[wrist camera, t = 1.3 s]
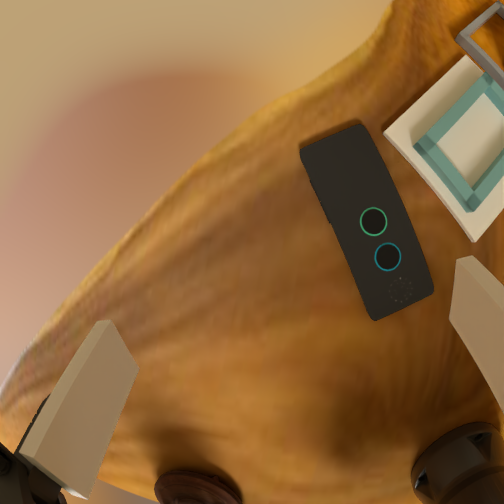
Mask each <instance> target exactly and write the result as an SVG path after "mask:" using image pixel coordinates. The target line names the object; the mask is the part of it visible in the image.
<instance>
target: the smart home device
mask: <svg viewBox="0 0 504 504" xmlns="http://www.w3.org/2000/svg"><path fill="white" fill-rule="evenodd" d="M300 158H301V161H302V163H303V165H304V167H305V169H306V171H307V173H308V175H309V178H310V183H311V185H312V187H313V189H314V191H315V193H316V195H317V197H318V199H319V202H320V201H321V202H320V204H321V206H322V208H323V210H324V212H325V215H326V217H327V219H328V221H329V224H330V223H331V225H332V227H333V229H334V232H335V234H336V236H337V239H338V241H339V243H340V246H341V248H342V250H343V253H344V255H345V257H346V260H347V262H348V264H349V267H350V269H351V272H352V274H353V277H354V279H355V282H356V284H357V287H358V289H359V292H360V294H361V297H362V299H363V302H364V305H365V307H366V310H367V312H368V314H369V316H370V317H371V319H372V320H374V321H377V320H379V319H381V318H383V317H386V316H388V315H390V314H392V313H394V312H396V311H399V310H401V309H403V308H405V307H407V306H409V305H411V304H413V303H415V302H417V301H419V300H421V299H423V298H425V297H427V296H429V295H431V294H433V292H434V286H433V282H432V279H431V276H430V273H429V270H428V267H427V264H426V261H425V258H424V255H423V253H422V250H421V247H420V245H419V242H418V239H417V237H416V234H415V232H414V229H413V227H412V224H411V222H410V219H409V217H408V214H407V212H406V210H405V207H404V205H403V203H402V200H401V198H400V196H399V194H398V191H397V189H396V187H395V185H394V183H393V180H392V178H391V176H390V174H389V172H388V170H387V168H386V166H385V164H384V162H383V160H382V158H381V156H380V154H379V152H378V150H377V148H376V146H375V144H374V142H373V140H372V138H371V137H370V135H369V133H368V131H367V130H366V128H365V127H364V126H363V125H361V124H358V125H355V126H352V127H350V128H348V129H345V130H343V131H340V132H338V133H336V134H333V135H331V136H329V137H326V138H324V139H322V140H319V141H317V142H315V143H313V144H310V145H308V146H306V147H304V148H302V149H300Z"/></svg>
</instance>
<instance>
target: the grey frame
mask: <svg viewBox="0 0 504 504" xmlns="http://www.w3.org/2000/svg"><path fill="white" fill-rule="evenodd" d="M496 13H497V14H498V15H500V16H501V17H502V18H503V19H504V5H503V4H502V3H501V2H500V1H499V0H498V1H497V2H495V3H494V4H493V5H492V6H491V7H489V8H488V9H487V10H486V11H485V12H483V13H482V14H481V15H480V16H479V17H477V18H476V19H475V20H474V21H473V22H471V23H470V24H469V25H468V26H467V27H466V28H464V29H463V30H462V31H461V32H460V33H459V34H458V35H457V37H456V38H455V41H456V42H457V43H458V44H459V45H460V46H461V47H462V48H463V49H464V50H465V51H466V52H467V53H468V54H469V55H470V56H471V57H472V58H473V59H474V60H475V61H476V62H477V63H478V64H479V65H480V66H481V67H482V68H483V69H484V70H485V71H487V73H488V74H489V75H490V76H491V77H492V78H493V79H494V80H495V81H496V83H497V84H498V85H499V86H500V87H501V88H502V89H503V91H504V72H503V71H502V70H501V68H500V67H499V66H498V65H497V64H496V63H495V62H494V61H493V60H492V59H491V58H490V57H489V56H488V55H487V54H486V53H485V52H484V51H483V50H482V49H481V48H480V47H479V46H478V45H477V44H476V43H475V42H474V41H473V40H472V39H471V38H470V36H471V35H472V34H473V33H474V32H475V31H477V30H478V29H479V28H480V27H481V26H482V25H483V24H484V23H486V22H487V21H488V20H489V19H490V18H491V17H492V16H493V15H495V14H496Z"/></svg>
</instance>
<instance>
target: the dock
mask: <svg viewBox="0 0 504 504" xmlns="http://www.w3.org/2000/svg"><path fill="white" fill-rule="evenodd" d="M383 135H384V136H385V137H386V138H387V139H388V140H389V141H390V143H391V144H392V145H393V146H394V147H395V148H396V149H397V150H398V151H399V152H400V153H401V154H402V155H403V156H404V158H405V159H406V160H407V161H408V162H409V163H410V164H411V165H412V166H413V168H414V169H415V170H416V171H417V172H418V173H419V174H420V176H421V177H422V178H423V179H424V180H425V181H426V183H427V184H428V185H429V186H430V187H431V189H432V190H433V191H434V192H435V194H436V195H437V196H438V197H439V199H440V200H441V201H442V202H443V204H444V205H445V206H446V208H447V209H448V210H449V211H450V213H451V214H452V215H453V217H454V218H455V219H456V221H457V222H458V223H459V225H460V226H461V228H462V229H463V230H464V232H465V233H466V235H467V236H468V237H469V239H470V240H471V242H476V241H477V240H478V239H479V238H480V236H481V235H482V234H483V233H484V232H485V230H486V229H487V228H488V227H489V226H490V224H491V223H492V222H493V221H494V220H495V218H496V217H497V216H498V214H499V213H500V212H501V211H502V209H503V208H504V91H503V89H502V88H501V87H500V86H499V85H498V84H497V83H496V81H495V80H494V79H493V78H492V77H491V76H490V75H489V74H488V73H487V71H485V72H484V73H483V72H482V71H481V69H480V68H479V67H478V66H477V65H476V64H475V63H474V62H473V61H472V60H471V59H470V58H469V57H468V56H467V55H465V56H464V57H463V58H462V59H461V60H460V61H459V62H457V63H456V64H455V65H454V66H453V67H452V68H451V69H450V70H449V71H448V72H447V73H446V74H445V75H444V76H443V77H442V78H441V79H439V80H438V81H437V82H436V83H435V84H434V85H433V86H432V87H431V88H430V89H429V90H428V91H427V92H426V93H425V94H424V95H423V96H421V97H420V98H419V99H418V100H417V101H416V102H415V103H414V104H413V105H412V106H411V107H410V108H409V109H408V110H407V111H406V112H405V113H403V114H402V115H401V116H400V117H399V118H398V119H397V120H396V121H395V122H394V123H393V124H392V125H391V126H390V127H389V128H388V129H386V130H385V131H384V133H383Z"/></svg>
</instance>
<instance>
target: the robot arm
mask: <svg viewBox="0 0 504 504" xmlns="http://www.w3.org/2000/svg"><path fill="white" fill-rule="evenodd" d="M449 320H450V322H451V323H452V325H453V327H454V328H455V330H456V331H457V333H458V334H459V336H460V337H461V339H462V341H463V342H464V344H465V345H466V347H467V349H468V350H469V352H470V354H471V355H472V357H473V359H474V360H475V362H476V364H477V366H478V367H479V369H480V371H481V372H482V374H483V376H484V378H485V380H486V381H487V383H488V385H489V387H490V389H491V390H492V392H493V394H494V396H495V398H496V400H497V402H498V404H499V406H500V408H501V410H502V412H503V414H504V286H503V285H502V284H501V283H500V282H499V281H498V280H497V279H496V278H495V277H494V276H493V275H492V274H491V273H490V272H489V271H488V270H487V269H486V268H485V267H484V266H483V265H482V264H481V263H480V262H479V261H478V260H477V259H476V258H475V257H474V256H473V255H472V256H468V257H464V258H460V259H456V268H455V278H454V287H453V295H452V302H451V309H450V315H449ZM139 369H140V368H139V367H138V365H137V364H136V362H135V360H134V359H133V357H132V355H131V354H130V352H129V350H128V348H127V347H126V345H125V343H124V342H123V340H122V338H121V336H120V334H119V333H118V331H117V329H116V327H115V325H114V324H113V322H112V320H103V321H97V322H96V323H95V325H94V326H93V328H92V329H91V331H90V332H89V334H88V335H87V337H86V338H85V340H84V341H83V343H82V344H81V346H80V348H79V349H78V351H77V352H76V354H75V355H74V357H73V358H72V360H71V362H70V363H69V365H68V366H67V368H66V370H65V371H64V373H63V374H62V376H61V378H60V379H59V381H58V383H57V384H56V386H55V388H54V389H53V391H52V393H51V394H50V395H49V396H48V397H47V398H46V399H45V400H44V401H43V402H42V403H41V405H40V407H39V409H38V410H37V414H35V416H34V417H33V419H32V423H30V425H29V426H28V428H27V430H26V432H25V434H24V436H23V437H22V439H21V441H20V443H19V445H18V447H17V449H16V451H15V452H14V454H12V453H11V452H10V451H9V450H8V449H7V448H6V447H5V446H4V445H3V444H2V443H1V442H0V504H67V502H66V499H65V497H64V495H63V494H62V493H61V492H60V490H61V488H64V489H65V490H66V491H68V492H69V493H71V494H72V495H74V496H78V497H81V498H84V499H87V500H89V497H90V494H91V491H92V488H93V485H94V483H95V480H96V477H97V475H98V472H99V469H100V466H101V464H102V461H103V458H104V456H105V453H106V450H107V448H108V445H109V442H110V440H111V437H112V435H113V432H114V430H115V427H116V425H117V422H118V420H119V417H120V415H121V412H122V410H123V407H124V405H125V402H126V400H127V397H128V395H129V393H130V390H131V388H132V385H133V383H134V381H135V378H136V376H137V374H138V371H139ZM411 483H412V486H413V490H414V493H415V495H416V496H417V498H418V499H419V500H420V501H421V502H422V503H423V504H504V441H503V438H502V436H501V434H500V433H499V432H498V430H497V429H496V428H495V427H494V426H493V425H491V424H489V423H485V422H476V423H470V424H467V425H464V426H461V427H459V428H456V429H454V430H452V431H450V432H449V433H447V434H445V435H444V436H442V437H441V438H439V439H438V440H437V441H435V442H434V443H433V444H432V445H431V446H430V447H429V448H428V449H427V450H426V451H425V452H424V453H423V454H422V455H421V456H420V458H419V459H418V461H417V462H416V464H415V466H414V468H413V470H412V474H411Z"/></svg>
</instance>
